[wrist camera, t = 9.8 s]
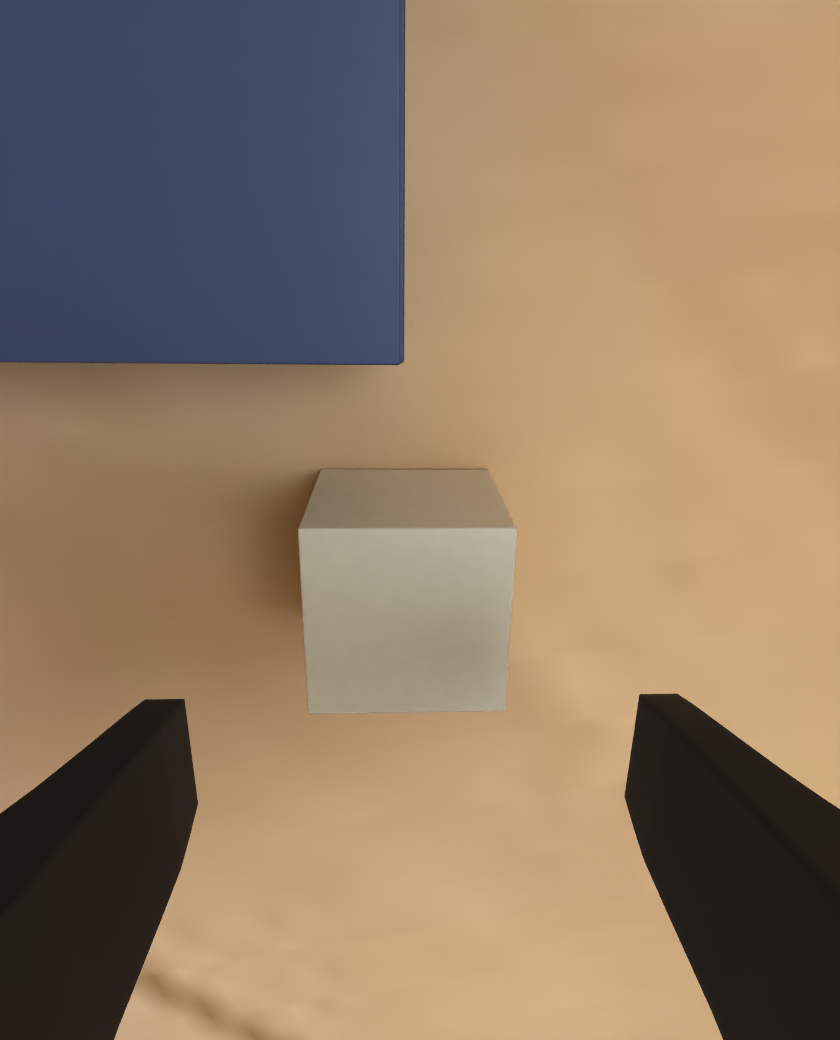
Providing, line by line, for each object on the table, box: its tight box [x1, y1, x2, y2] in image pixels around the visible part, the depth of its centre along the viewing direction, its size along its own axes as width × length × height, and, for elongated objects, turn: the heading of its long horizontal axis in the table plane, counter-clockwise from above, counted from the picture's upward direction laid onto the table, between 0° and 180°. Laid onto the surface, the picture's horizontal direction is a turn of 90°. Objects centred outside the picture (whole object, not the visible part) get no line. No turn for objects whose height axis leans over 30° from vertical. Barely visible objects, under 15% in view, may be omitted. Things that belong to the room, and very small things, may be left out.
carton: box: [0, 0, 405, 365], centre depth 12 cm, size 12×14×6 cm
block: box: [298, 469, 517, 714], centre depth 16 cm, size 4×4×4 cm
